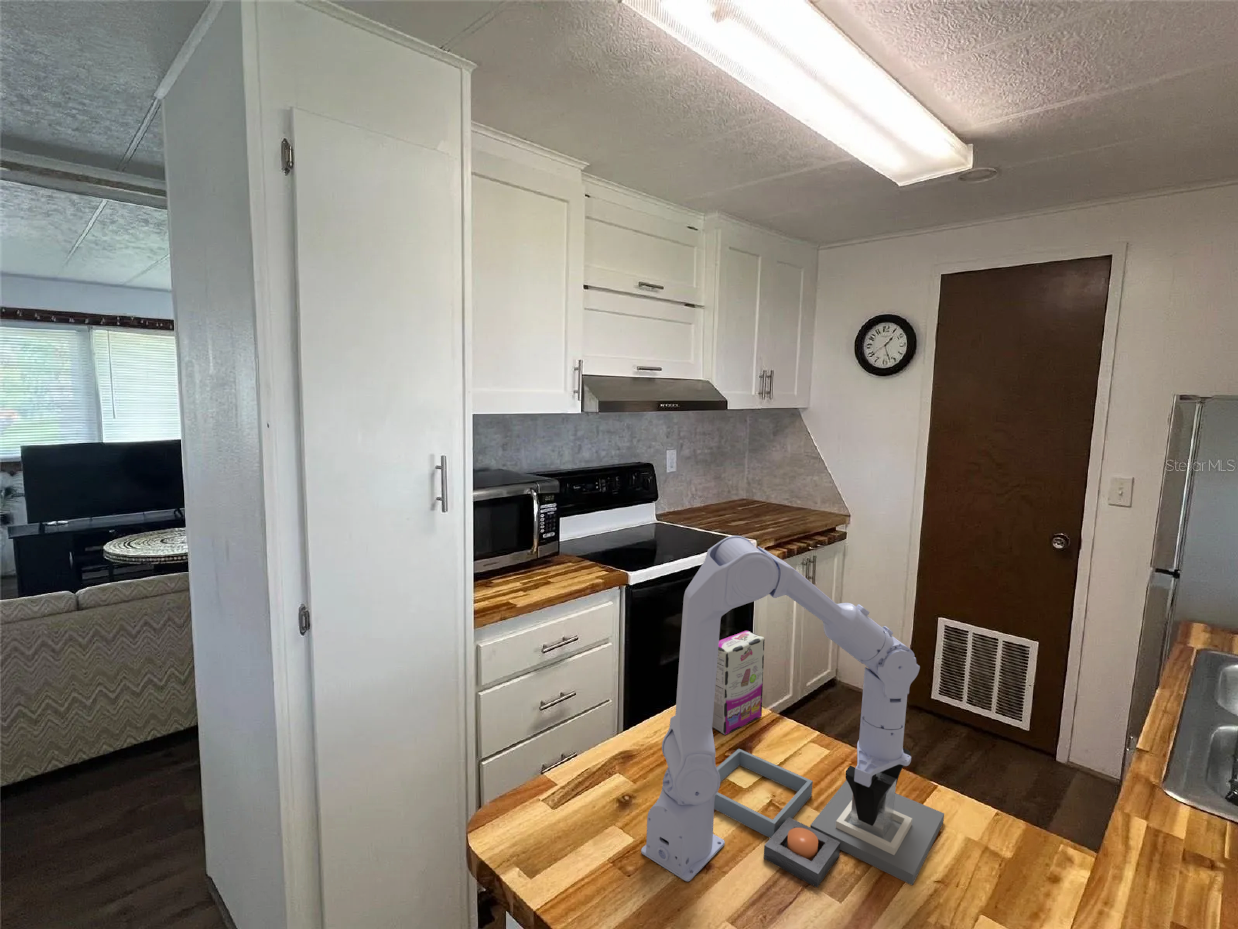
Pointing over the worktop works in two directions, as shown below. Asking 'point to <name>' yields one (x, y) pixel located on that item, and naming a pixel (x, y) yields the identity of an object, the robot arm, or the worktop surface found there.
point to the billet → (884, 813)
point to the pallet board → (900, 845)
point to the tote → (771, 772)
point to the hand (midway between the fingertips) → (875, 808)
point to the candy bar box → (738, 681)
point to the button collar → (797, 864)
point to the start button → (803, 843)
